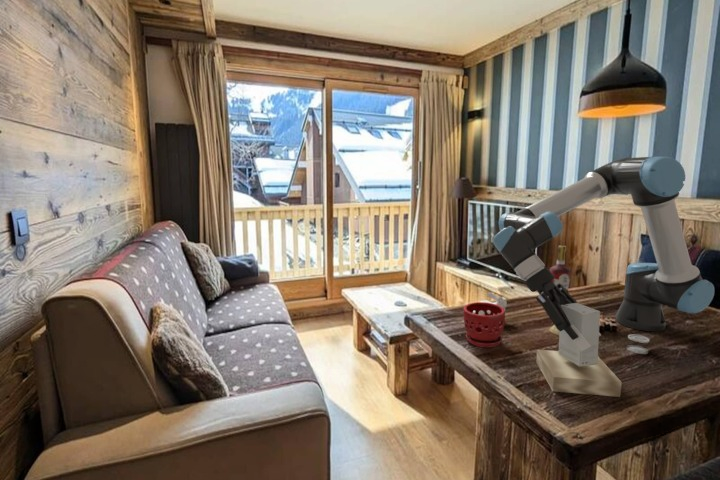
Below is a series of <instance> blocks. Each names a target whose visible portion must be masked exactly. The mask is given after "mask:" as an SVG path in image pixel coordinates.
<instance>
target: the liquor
mask: <svg viewBox="0 0 720 480" xmlns="http://www.w3.org/2000/svg"><path fill="white" fill-rule="evenodd" d="M566 251H567V246H566V245H558V246H557V259H556V264H555V265H553V266H551V267H549V270H550V272H551V273H552V274H553V275H554V277H555V278H554V279H553V280H552V283H554V284H555V285H558V284H561V285H562V286H563V288H564V289H568V290H569V287H570V278H571V271H572V270H571V269H570V268H569V267H567V266H565V265H566V264H565V262H566V261H565V259H566V257H565V254H566Z"/></svg>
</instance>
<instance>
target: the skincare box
mask: <svg viewBox="0 0 720 480" xmlns="http://www.w3.org/2000/svg"><path fill="white" fill-rule="evenodd" d="M561 307H562V309H563V311H564V313H565V314H566V316H567V318H568V320H569V322H570V324H571V325H574V326H575V327H576V328H577V329H578V331H579V332H580V333H581V334H582V336H583V337H584V338H585V339H586V340H587V342H588V343H589V344H590V345H591V347H589V348H587V349H585V350H583V351H580V349H579V348H578V347H577V346H576V344H575V343H574V342H573V341H572V339H571V338H570V337H569V336H568V334H567V333H566V332H565V331H564V330H562V331H560V332H559V336H558V351H559V355H561V356H563V357H564V358H566V359H568V360H570V361H571V362H573V363H575V364H576V365H578V366H580V367H581V366H588V365H597V361H598V357H599V339H600V338H599V337H600V336H599V333H600V317H601V311H600V310H598V309H595V308H592V307H589V306H586V305H584V304H581V303H579V302H578V303H572V304H564V305H561Z"/></svg>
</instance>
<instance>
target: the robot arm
mask: <svg viewBox="0 0 720 480" xmlns="http://www.w3.org/2000/svg"><path fill="white" fill-rule="evenodd" d="M684 182H686V172H685V168H684V167H683V164H681V163H680V161H678V160H677V159H675V158H673V157H670V156H661V155H660V156H659V155H655V156H654V155H651V156H643V157H642V156H641V157H623V158H619V159H616V160H613V161H611V162H608V163H606V164H604V165H601V166H599V167H598V168H596V169H593V170H592V171H590V172H587V173H586V174H585V175H584V178H582V179H580V180H578V181H576V182H574V183H572V184H570V185H567V186H566V187H564V188H562V189H559V190H558V191H556V192H554V193H552V194H550V195H548V196H546V197H543V198H542V199H540V200H538V201H535V202H534V203H532V204H530V205H528V206H526V207H524V208H521V209H520V210H518V211H513V212H512V211H510V212H509V211H508V212H505V213H503V214H501V216H500V217H499V219H498V228H499V230H500V231H498V232H497V233H496V234H495V235H494V237H493V238H492V243H493V245H494V247H495V248H496V249H497V251H498V252H499V254H500V255H501V256H502V258H503V259H504V260H505V261H506V262H507V263H508V264H509V265H510V267H511V268H512V269H513V271H514V272H515V274H516V275H517V276H518V277H519V278H520V280H522V281H524V284H525V286H527V288H528V289H529V290H530V292H531V293H534V292H535V293H536V292H538V296H536V297H535V299H536V301H537V302H538V303H539V304H540V305H541V307H542V308H543V310H544V311H545V312H546V314H547V316H548V317H549V318H550V320H551V322H552V323H553V325H555V326H556V328H557V329H558V330H559V331H562V330H564V331H565V332H566V333H567V334H568V336H569V337H570V338H571V339H572V341H573V342H574V343H575V344H576V346H577V347H578V348H579V349H580V351H583V350H585V349H587V348H589V347H591V345H590V344H589V343H588V342H587V340H586V339H585V338H584V337H583V336H582V334H581V333H580V332H579V331H578V329H577V328H576V327H575V326H574V325H571V324H570V322H569V320H568V318H567V316H566V314H565V313H564V311H563V309H562V307H561V305H564V304H572V303H579V302H578V301H577V300H576V299H575V298H574V297H573V296H572V295H571V294H570V292H569V291H568V292H567V291H566V290H565V289H564V288H563V286H562V285H561V284H558V285H555V284H554V283H552V280H553V279H554V278H555V277H554V275H553V274H552V273H551V272H550V268H548V267H545V266H546V265H545V263H544V262H543V261H542V259H540V257H539V255H537V254H536V253H535V252H534V251H535V249H537V248H538V247H540V246H542V245H544V244H546V243H547V242H549V241H550V240H552V239H554V238H555V237H556V236H558V235H559V234H560V233H561V232H562V231H563V229H564V228H563V227H564V226H563V223H562V220H561V219H560V216H562V215H563V214H565V213H567V212H570V211H572V210H574V209H575V208H578V207H580V206H582V205H584V204H586V203H588V202H590V201H592V200H595V199H603V198H604V197H607V196H610V195H614V194H615V195H616V194H617V195H618V194H626V195H631V196H630V197H631V200H632V202H633V205H634V206H635V207H638V208H640V209H641V213H642V216H643V219H644V223H645V226H646V230H647V234H648V236H649V239H650V243H651V247H652V251H653V254H654V258H655V261H656V263H655V262H633V263H630V264H628V266H627V269H626V272H625V281H624V292H623V300H622V303H621V304H620V306H619V308H618V309H617V311H616V314H615V321H616V322H617V323H618V324H620V325H622V326H624V327H627V328H630V329H633V330H639V331H646V332H661V331H665V329H666V325H667V324H666V323H667V322H666V319H665V314H664V312H663V306H666V307H669V308H671V309H674V310H676V311H680V312H684V313H687V314H698V313H701V312H702V311H705V310H706V309H707V307H708V306H709V305H710V304H711V303H712V301H713V299H714V296H715V286H714V284H713V283H712V282H711V281H709V280H707V279H703V278H702V275H701V272H700V269H699V268H698V267H697V266H696V265H693V264H692V261H691V257H690V253H689V251H688V245H687V242H686V239H685V235H684V231H683V228H682V224H681V220H680V216H679V213H678V208H677V204H676V201H675V200H677V198H678V197H679V196H680V191H682V189H683V187H684V185H685V184H684ZM601 336H602V334H601V333H600V332H599V337H601Z"/></svg>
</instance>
